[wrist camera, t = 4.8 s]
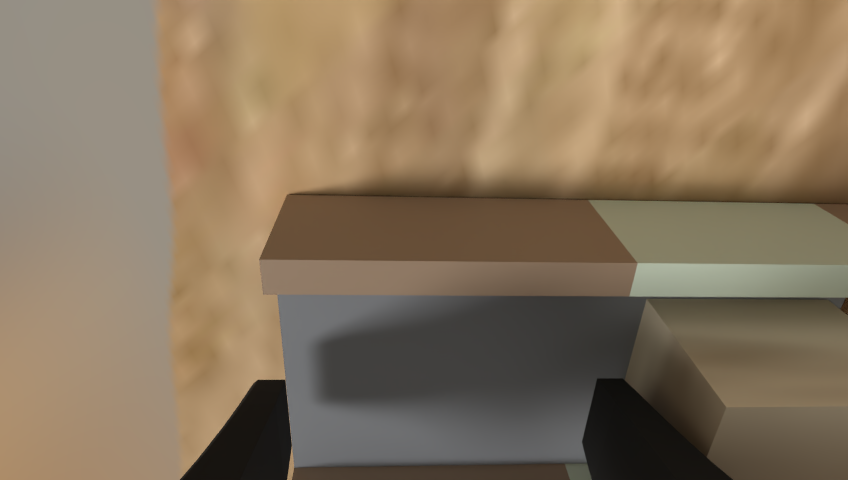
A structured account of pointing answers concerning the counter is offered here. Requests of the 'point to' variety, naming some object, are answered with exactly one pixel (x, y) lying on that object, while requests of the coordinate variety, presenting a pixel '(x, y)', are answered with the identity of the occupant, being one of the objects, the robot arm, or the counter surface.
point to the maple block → (750, 382)
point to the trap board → (501, 317)
